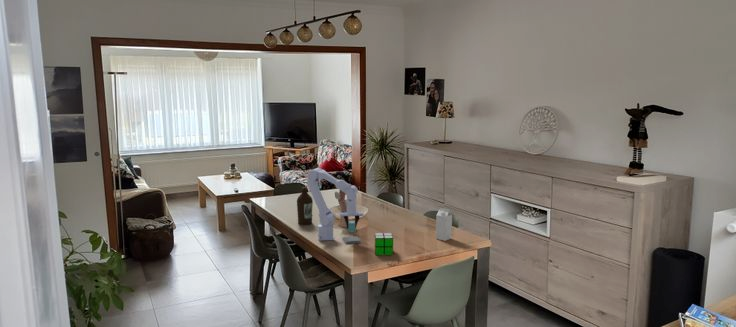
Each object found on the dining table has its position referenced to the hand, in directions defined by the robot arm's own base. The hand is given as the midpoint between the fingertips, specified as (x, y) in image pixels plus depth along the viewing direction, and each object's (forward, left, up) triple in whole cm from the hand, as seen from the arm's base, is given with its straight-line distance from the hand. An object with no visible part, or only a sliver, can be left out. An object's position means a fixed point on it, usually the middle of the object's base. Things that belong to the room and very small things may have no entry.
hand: (351, 228), depth 316 cm
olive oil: (-27, +44, -9) cm, 53 cm away
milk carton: (+57, -2, -9) cm, 58 cm away
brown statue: (-2, +35, -9) cm, 37 cm away
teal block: (0, 0, -2) cm, 2 cm away
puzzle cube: (+16, -23, -9) cm, 29 cm away
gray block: (0, 0, -9) cm, 9 cm away
